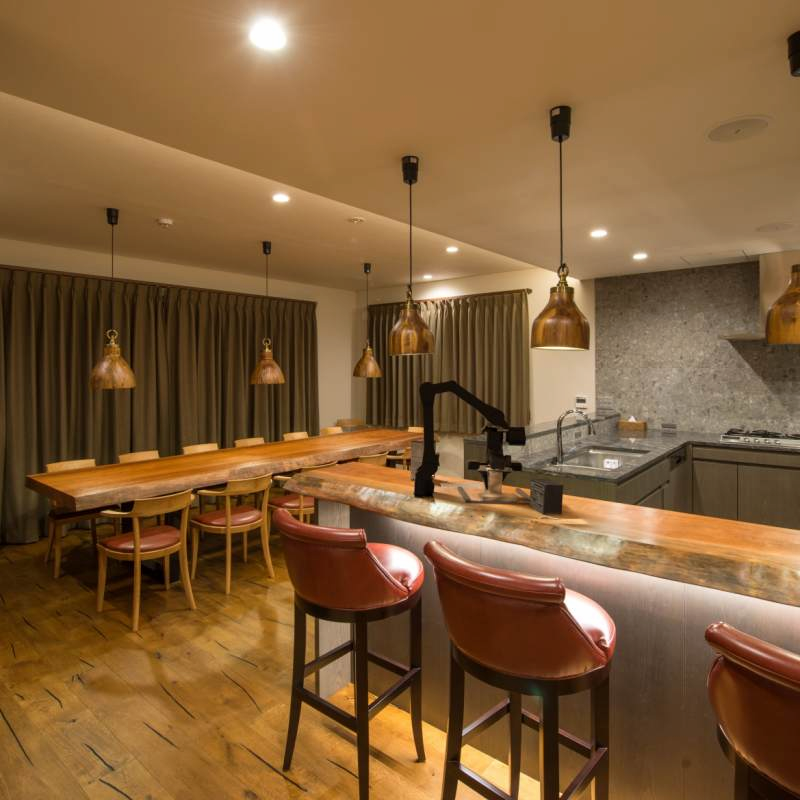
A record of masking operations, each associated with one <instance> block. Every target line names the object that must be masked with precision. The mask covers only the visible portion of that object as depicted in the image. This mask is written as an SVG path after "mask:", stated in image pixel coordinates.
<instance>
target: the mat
mask: <svg viewBox="0 0 800 800" xmlns="http://www.w3.org/2000/svg"><path fill="white" fill-rule="evenodd" d="M440 485H441V486H440ZM439 486H440V487H441V489H442V488H445V489H447V488H450V489H457V488H458V486H459V487H462V488H463V489H479V490H481V489H483V490H484V486H483V485H482V484H481V483H455V482H454V483H453V482H451V483H450V482H448V483H447V482H439Z"/></svg>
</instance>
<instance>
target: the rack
mask: <svg viewBox="0 0 800 800" xmlns="http://www.w3.org/2000/svg"><path fill="white" fill-rule="evenodd" d="M456 489H457V491H458V493H459V494H460V496H461V498H462V499H463V500H464V502H465V503H466V504H491V505H493V504H495V505H501V504H502V505H530V494H528V493H527V492H525V491H524V490H523V489H521V488H520V487H515V490H514V491H515V492H516V493H517V495H518V496H520V497H522V498H523V499H524V500H525V501H519V502H516V501H480V500H476V499H475V500H473V499H471V497H470V496H469V495H468V493H467V492H466V490H465V488H462V487H459V486H458V488H456Z"/></svg>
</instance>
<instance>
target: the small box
mask: <svg viewBox="0 0 800 800" xmlns="http://www.w3.org/2000/svg"><path fill="white" fill-rule="evenodd" d="M529 488H530V490H529V496H530V505H529V508H530V509H533V510H534V511H535V512H537V513H539V514H541V515H543V518H548V517H547V516H552V515H553V516H554V515H555V516H556V515H561V516H562V515H563V498H564V484H562V483H559V482H557V481H554V480H552V479H550V478H538V477H537V478H532V477H531V478H530V487H529ZM544 516H546V517H544Z"/></svg>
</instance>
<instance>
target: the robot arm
mask: <svg viewBox="0 0 800 800" xmlns="http://www.w3.org/2000/svg"><path fill="white" fill-rule="evenodd" d="M449 392H450V393H452V394H453V395H455V396H456V397H457V398H458V399H460V400H461V401H463V402H465V403H466V404H467V405H469V407H472V408H473V409H474V410H476V411H477V412H478V413H479V415H481V416H482V417H483V418H484V419H485V420H486V421H487V423H489V424H490V425H491V426H488V424H484V426H483V427H482V428H481V429H480V431H481V432H483V433H486V441H485V442H486V443H485V459H484V460H485V461H483V462H482V461H479V460H478V459H469V458H468V459H466V461H465V468H466V469H467V470H470V471H471V470H473V471H477V472H478V473H479V474H480V475H481V478H482V481H483V485H485V488H486V490H487V489H488V482H487V471H486V468H491V469H493V470H496V469H498V470H500V471H501V472H502V473H503V474H502V485H503V484H504V482H505V479H506V477H507V476H508V474H511V473H512V471H513V472H522V471H523V467H524V465H523V463H522V462H521V461H519V460H512V455H511V454H505V455H504V443H507V446H509V447H511V446H512V447H513V446H515V447H525V446H526V444H527V436H526V427H525V426H524V425H523V426H521V425H520V426H510V425H509V424H508V422H507V421H506V416H505V413H504V412H503V411H502V410H501V409H499V408H497V407H495V406H492V405H490V404H489V403H486V402H484V401H483V400H481V399H480V398H479V397H477V396H476V395H475V394H473V393H471V392H470V391H468V390H467V389H465V388H464V387H463V386H462V385H460V384H459V383H458V382H457V381H456V380H454V379H453V380H448V381H443V382H438V383H433V382H429V381H425V382H423V383H421V384H420V386H419V388H418V393H419V397H420V401H421V407H422V418H423V419H422V421H423V424H422V425H423V428H422V429H423V439H424V452H423V459H422V465H421V466H420V467H419V468H418V469H416V472H415V476H416V477H414V480H413V481H414V482H413V497H414V498H434V494H435V482H434V479H433V478H432V475H433V474H435V475H436V473H438V470H439V467H441V464H440V463H441V462H440V452H438V451H436V453H435V448H434V440H435V430H434V429H435V428H434V427H435V426H434V405H435V400H436V399H435V398H436V395H438V394H444V393H449ZM498 427H499V428H501V429H502V430H501V429H500V430H499V429H498Z"/></svg>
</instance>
